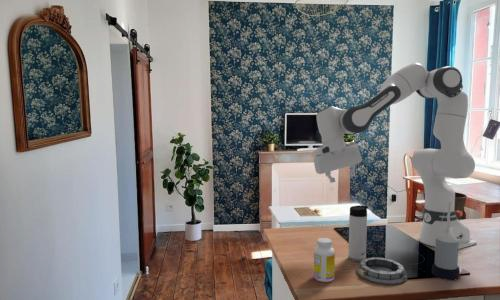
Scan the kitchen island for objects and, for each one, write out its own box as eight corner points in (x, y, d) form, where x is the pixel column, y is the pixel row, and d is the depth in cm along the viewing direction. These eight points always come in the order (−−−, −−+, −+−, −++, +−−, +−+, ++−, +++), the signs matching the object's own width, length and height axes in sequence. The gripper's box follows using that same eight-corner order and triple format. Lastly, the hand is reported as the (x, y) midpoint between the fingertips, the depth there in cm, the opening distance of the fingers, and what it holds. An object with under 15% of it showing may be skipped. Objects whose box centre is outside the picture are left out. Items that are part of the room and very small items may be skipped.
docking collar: (386, 262, 135) (386, 254, 135) (418, 280, 120) (418, 271, 119) (347, 267, 130) (347, 259, 130) (376, 287, 115) (376, 278, 115)
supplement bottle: (335, 275, 124) (336, 238, 123) (333, 284, 118) (334, 244, 116) (315, 272, 126) (316, 236, 125) (312, 281, 120) (312, 242, 118)
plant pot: (430, 230, 172) (431, 196, 170) (428, 221, 185) (429, 190, 184) (467, 234, 166) (469, 199, 164) (462, 224, 180) (464, 192, 178)
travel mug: (367, 262, 134) (369, 208, 132) (348, 261, 136) (350, 207, 134) (365, 256, 141) (367, 204, 139) (347, 254, 142) (349, 203, 140)
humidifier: (463, 281, 120) (467, 205, 117) (436, 279, 121) (439, 204, 118) (454, 270, 128) (458, 199, 125) (428, 269, 129) (431, 198, 126)
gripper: (351, 141, 157) (360, 173, 157) (309, 152, 151) (317, 185, 151) (360, 139, 151) (368, 172, 151) (316, 151, 145) (325, 185, 145)
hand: (342, 179), depth 151 cm, fingers open, 8 cm apart
